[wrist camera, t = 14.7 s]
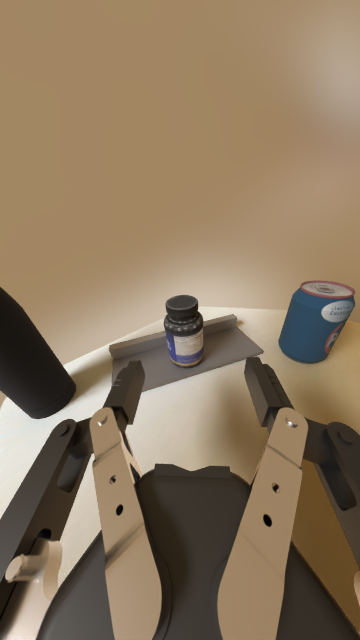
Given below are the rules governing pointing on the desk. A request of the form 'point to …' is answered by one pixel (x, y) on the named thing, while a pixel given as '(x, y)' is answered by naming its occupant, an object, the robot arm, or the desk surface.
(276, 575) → the robot arm
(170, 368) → the price rail shelf
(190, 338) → the pill bottle
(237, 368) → the desk surface
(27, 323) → the black water bottle
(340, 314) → the soda can
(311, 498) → the desk surface
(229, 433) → the desk surface
